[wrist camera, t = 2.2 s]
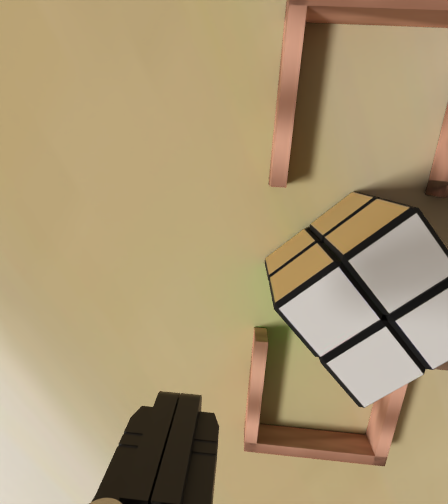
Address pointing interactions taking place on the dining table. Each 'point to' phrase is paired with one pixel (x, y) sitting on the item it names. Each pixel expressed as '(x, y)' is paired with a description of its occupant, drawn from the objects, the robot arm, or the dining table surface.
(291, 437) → the bent wall strips
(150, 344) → the dining table surface
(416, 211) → the puzzle cube
